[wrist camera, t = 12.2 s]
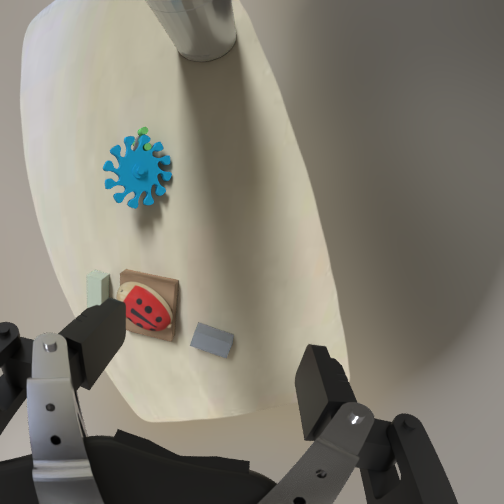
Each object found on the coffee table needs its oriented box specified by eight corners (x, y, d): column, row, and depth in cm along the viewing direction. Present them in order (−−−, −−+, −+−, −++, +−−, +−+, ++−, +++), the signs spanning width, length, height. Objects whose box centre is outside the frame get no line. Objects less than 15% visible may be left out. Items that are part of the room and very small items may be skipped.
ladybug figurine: (128, 270, 38) (117, 278, 34) (183, 304, 39) (176, 316, 35) (114, 303, 39) (104, 312, 36) (166, 335, 40) (159, 347, 37)
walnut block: (128, 267, 41) (120, 273, 38) (179, 278, 41) (174, 285, 38) (128, 320, 43) (121, 328, 40) (176, 332, 43) (171, 341, 40)
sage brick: (95, 269, 40) (86, 274, 37) (109, 273, 40) (101, 279, 37) (95, 300, 42) (87, 307, 39) (109, 305, 42) (101, 312, 39)
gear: (167, 212, 36) (99, 204, 29) (150, 209, 40) (90, 203, 33) (181, 135, 35) (116, 118, 27) (163, 141, 39) (105, 128, 32)
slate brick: (193, 335, 43) (190, 345, 40) (198, 321, 42) (194, 330, 39) (227, 347, 43) (226, 358, 40) (233, 334, 43) (232, 344, 40)
